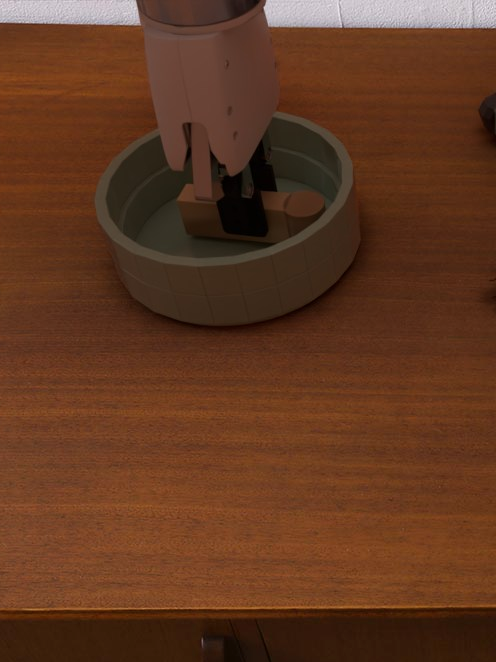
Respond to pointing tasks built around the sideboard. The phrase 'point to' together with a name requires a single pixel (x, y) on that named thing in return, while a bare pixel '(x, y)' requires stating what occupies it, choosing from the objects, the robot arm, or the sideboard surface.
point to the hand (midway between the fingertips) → (252, 219)
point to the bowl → (221, 253)
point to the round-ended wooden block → (280, 209)
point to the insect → (493, 280)
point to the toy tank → (489, 114)
